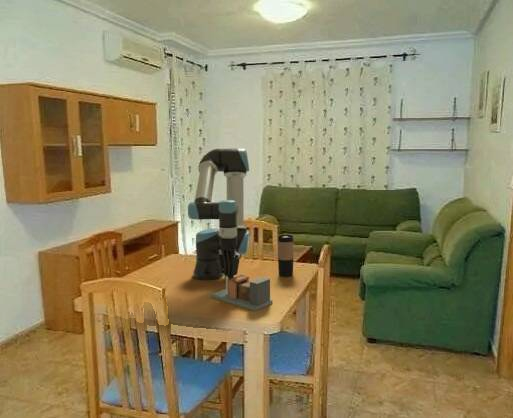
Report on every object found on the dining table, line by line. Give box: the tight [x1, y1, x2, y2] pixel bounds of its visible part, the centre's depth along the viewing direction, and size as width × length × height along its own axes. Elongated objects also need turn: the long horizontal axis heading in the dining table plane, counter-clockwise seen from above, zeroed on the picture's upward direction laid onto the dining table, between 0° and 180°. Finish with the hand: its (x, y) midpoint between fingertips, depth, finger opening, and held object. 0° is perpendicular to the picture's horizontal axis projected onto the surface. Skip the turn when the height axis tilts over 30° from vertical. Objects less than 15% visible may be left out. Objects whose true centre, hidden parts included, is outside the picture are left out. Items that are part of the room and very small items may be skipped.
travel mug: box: [277, 234, 294, 278], centre depth 224 cm, size 8×8×20 cm
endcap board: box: [211, 276, 273, 312], centre depth 189 cm, size 25×11×11 cm, turn 49°
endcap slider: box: [228, 274, 250, 299], centre depth 190 cm, size 4×8×8 cm, turn 139°
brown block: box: [237, 282, 250, 301], centre depth 186 cm, size 12×4×6 cm, turn 49°
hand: (229, 290), depth 194 cm, fingers closed
